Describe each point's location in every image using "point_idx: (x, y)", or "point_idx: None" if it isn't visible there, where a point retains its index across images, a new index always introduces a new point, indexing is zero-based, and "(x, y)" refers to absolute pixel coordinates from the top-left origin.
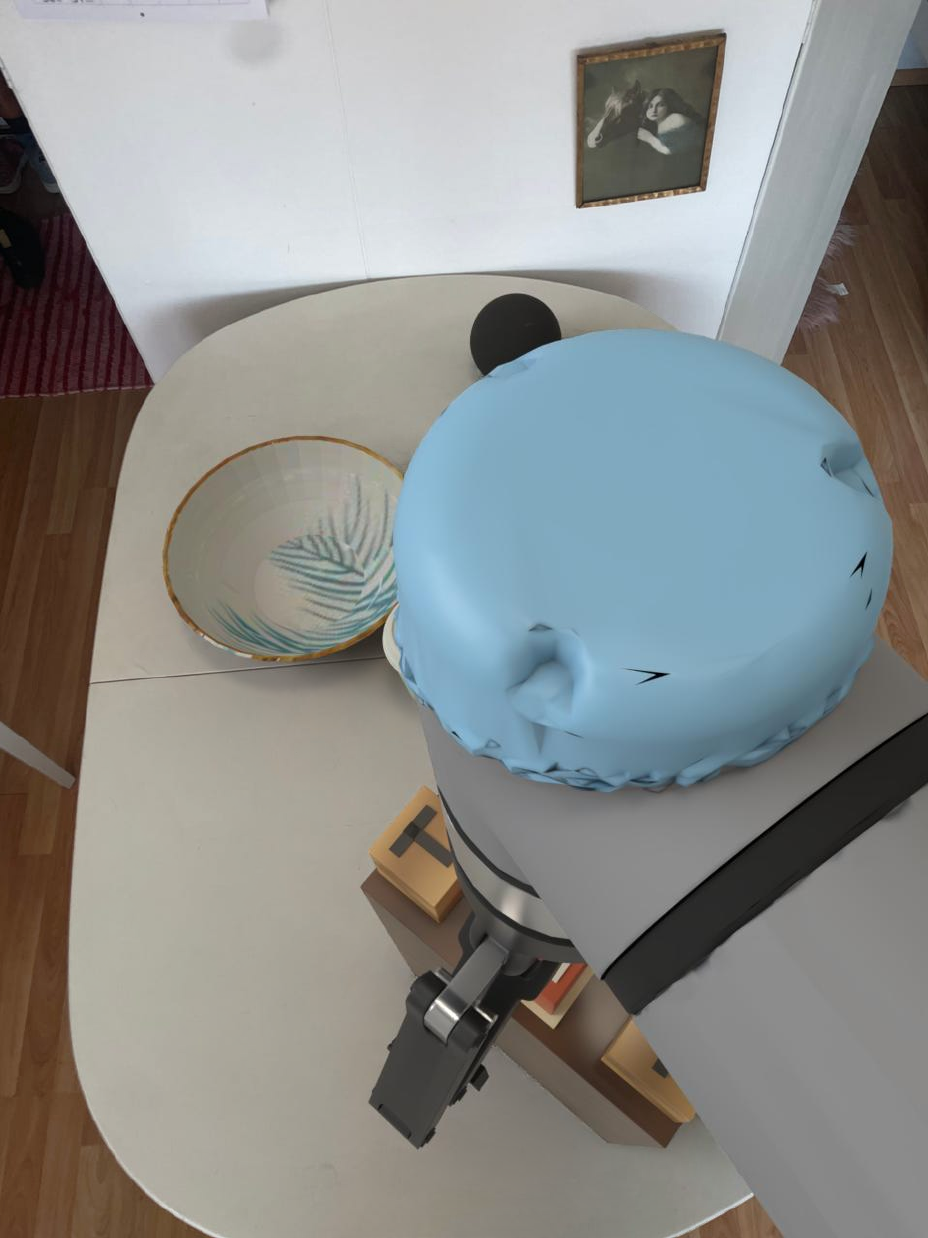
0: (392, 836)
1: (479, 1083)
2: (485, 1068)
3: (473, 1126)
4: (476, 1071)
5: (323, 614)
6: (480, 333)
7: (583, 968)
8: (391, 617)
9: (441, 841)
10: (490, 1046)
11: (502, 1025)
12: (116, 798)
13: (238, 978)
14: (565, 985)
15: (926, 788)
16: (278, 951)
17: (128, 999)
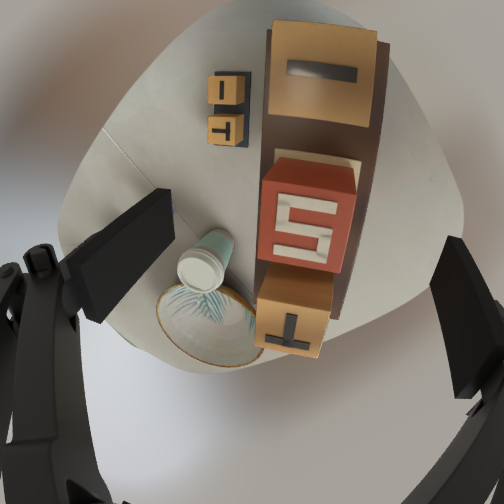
0: (298, 350)
1: (481, 282)
2: (493, 336)
3: (386, 126)
4: (500, 350)
5: (227, 297)
6: None
7: (308, 175)
8: (204, 292)
9: (282, 324)
10: (497, 427)
11: (479, 487)
12: (340, 325)
13: (382, 251)
14: (334, 193)
15: None
16: (365, 242)
17: (407, 283)
